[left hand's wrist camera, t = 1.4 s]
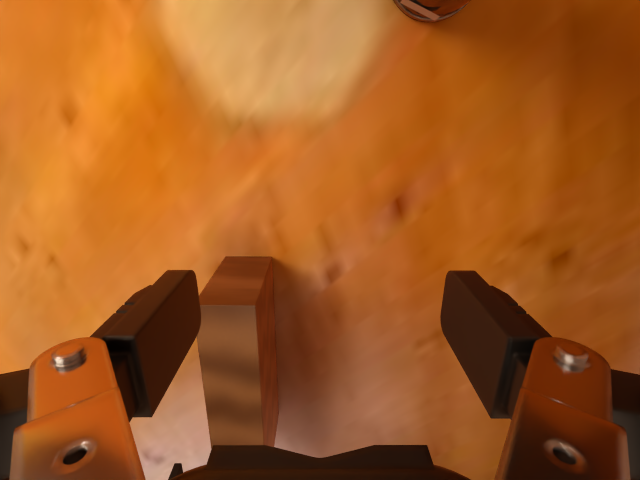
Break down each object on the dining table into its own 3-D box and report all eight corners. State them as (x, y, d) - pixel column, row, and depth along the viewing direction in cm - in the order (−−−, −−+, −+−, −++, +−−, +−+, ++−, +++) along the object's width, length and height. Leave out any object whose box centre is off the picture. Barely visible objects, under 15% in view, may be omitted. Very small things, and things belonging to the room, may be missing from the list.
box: (225, 256, 43) (192, 305, 32) (272, 256, 43) (255, 305, 32) (239, 412, 52) (217, 495, 41) (278, 413, 52) (267, 495, 41)
